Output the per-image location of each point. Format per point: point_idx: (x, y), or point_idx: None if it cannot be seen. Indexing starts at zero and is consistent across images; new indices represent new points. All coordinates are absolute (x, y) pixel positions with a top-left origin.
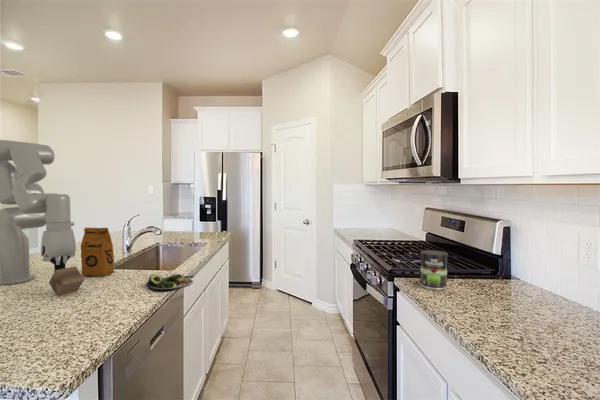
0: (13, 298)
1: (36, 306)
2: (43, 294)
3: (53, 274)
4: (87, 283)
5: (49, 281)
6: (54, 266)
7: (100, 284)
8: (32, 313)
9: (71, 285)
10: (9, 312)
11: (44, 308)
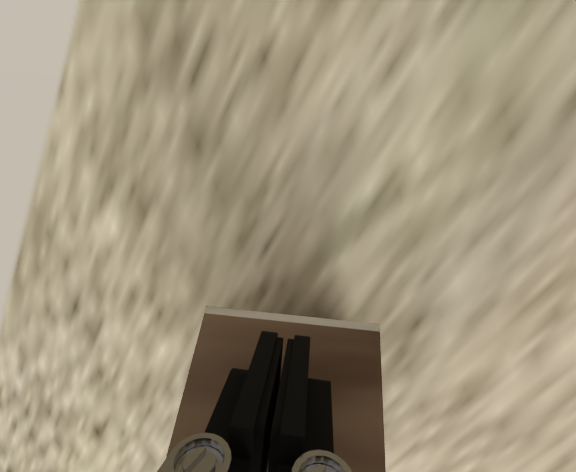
0: (92, 120)
1: (106, 389)
2: (227, 221)
3: (170, 445)
4: (535, 260)
5: (202, 326)
6: (208, 427)
7: (534, 371)
8: (61, 453)
9: None
10: (8, 355)
11: (114, 445)
